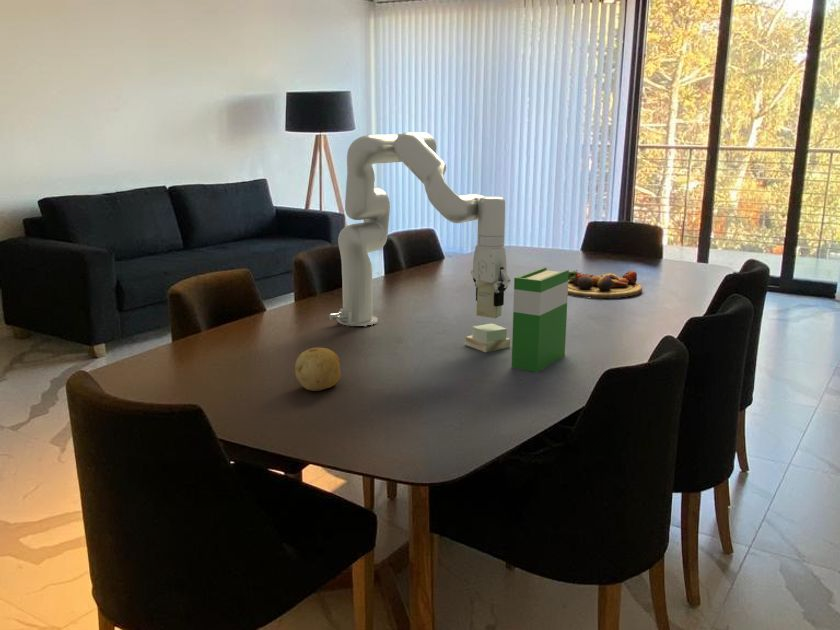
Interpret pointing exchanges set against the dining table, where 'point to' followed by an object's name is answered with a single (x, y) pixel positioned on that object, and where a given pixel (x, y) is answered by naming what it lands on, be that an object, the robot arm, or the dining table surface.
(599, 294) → the wooden plate with food
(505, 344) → the tower base
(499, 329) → the tower top
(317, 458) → the dining table surface
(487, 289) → the skincare box
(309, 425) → the dining table surface
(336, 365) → the potato
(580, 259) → the dining table surface
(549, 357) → the hardback book
